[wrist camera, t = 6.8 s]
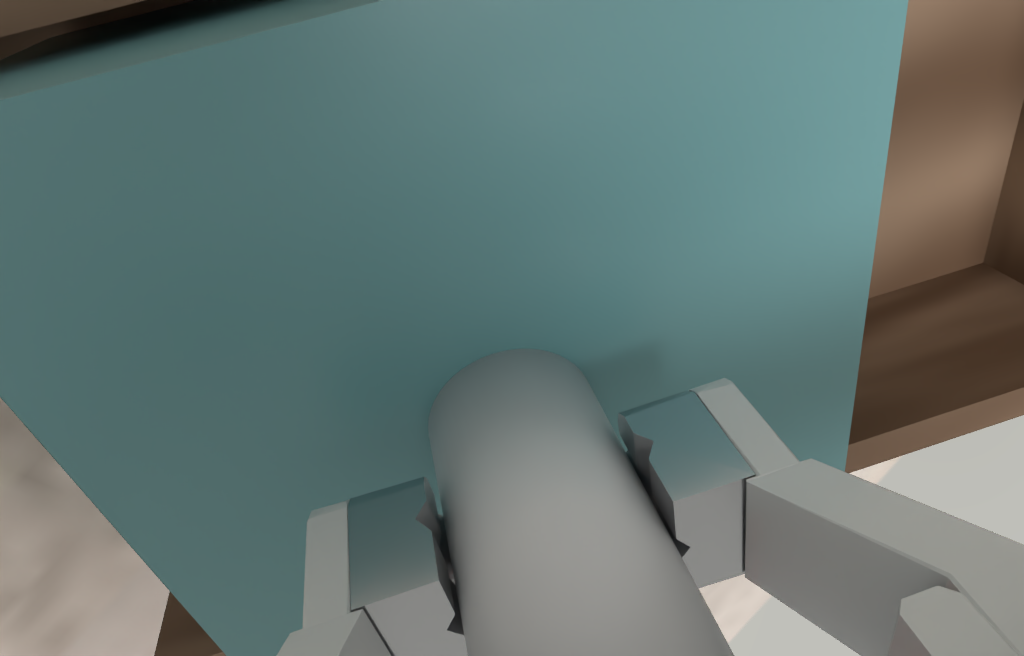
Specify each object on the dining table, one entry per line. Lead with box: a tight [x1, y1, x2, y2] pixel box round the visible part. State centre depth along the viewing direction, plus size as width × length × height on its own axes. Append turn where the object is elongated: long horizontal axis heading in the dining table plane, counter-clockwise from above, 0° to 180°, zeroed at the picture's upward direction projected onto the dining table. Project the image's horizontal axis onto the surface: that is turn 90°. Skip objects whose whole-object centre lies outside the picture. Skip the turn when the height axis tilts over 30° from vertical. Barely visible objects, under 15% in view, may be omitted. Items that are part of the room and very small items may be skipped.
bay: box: [0, 0, 1024, 656], centre depth 14 cm, size 15×27×7 cm, turn 102°
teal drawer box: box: [0, 0, 908, 656], centre depth 11 cm, size 12×12×12 cm
